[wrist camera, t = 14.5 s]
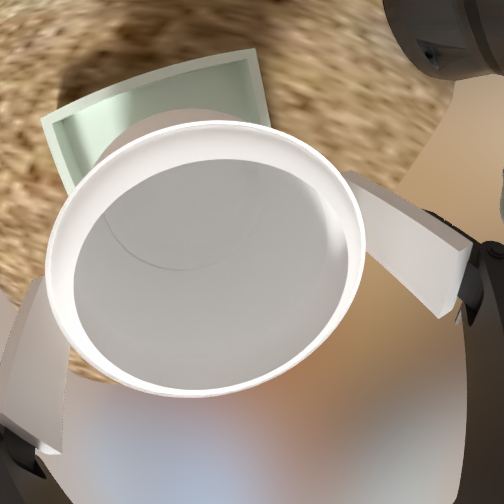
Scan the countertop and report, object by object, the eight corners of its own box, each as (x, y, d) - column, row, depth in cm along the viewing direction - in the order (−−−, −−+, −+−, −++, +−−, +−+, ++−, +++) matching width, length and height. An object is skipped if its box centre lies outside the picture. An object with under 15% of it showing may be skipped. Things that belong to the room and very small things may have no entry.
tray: (240, 53, 18) (255, 47, 15) (274, 225, 27) (290, 244, 24) (56, 114, 16) (40, 118, 13) (125, 278, 25) (123, 302, 22)
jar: (80, 181, 19) (-1, 324, 6) (178, 74, 17) (232, 28, 5) (181, 259, 25) (224, 420, 12) (270, 171, 23) (402, 276, 11)
